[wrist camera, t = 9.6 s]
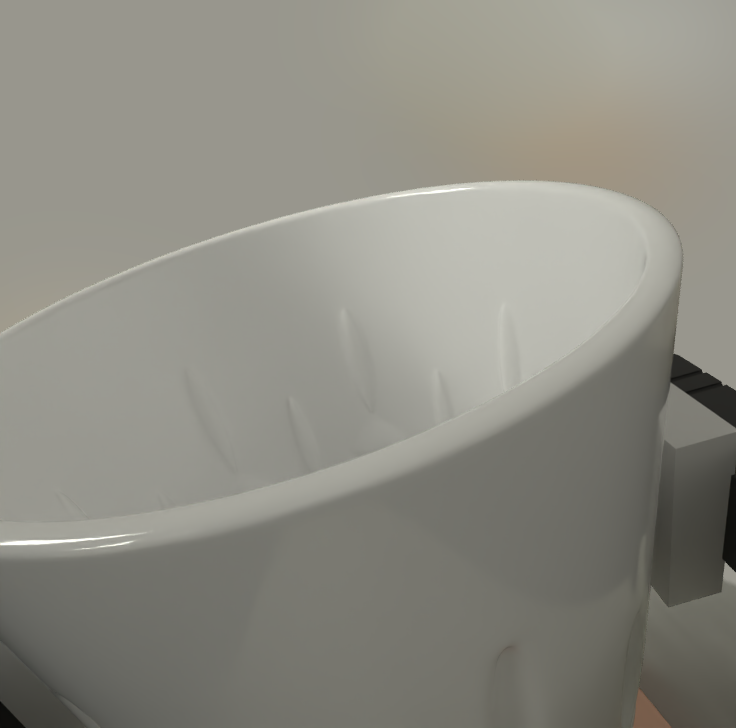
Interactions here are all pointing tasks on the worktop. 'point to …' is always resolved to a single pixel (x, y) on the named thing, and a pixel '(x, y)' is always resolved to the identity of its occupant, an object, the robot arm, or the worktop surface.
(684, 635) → the worktop surface
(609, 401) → the white cup
